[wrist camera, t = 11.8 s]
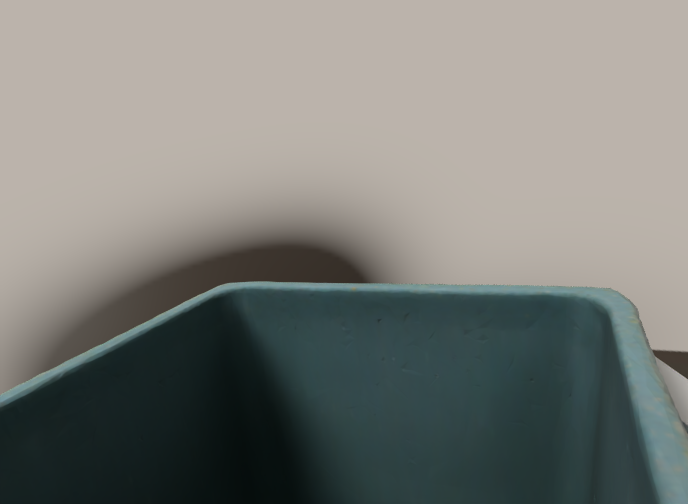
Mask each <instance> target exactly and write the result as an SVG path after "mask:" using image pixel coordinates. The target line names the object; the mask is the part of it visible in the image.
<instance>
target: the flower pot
mask: <svg viewBox="0 0 688 504" xmlns="http://www.w3.org/2000/svg"><path fill="white" fill-rule="evenodd" d="M0 504H688V433H687V431H686V429H685V427H684V425H683V423H682V421H681V418H680V416H679V413H678V410H677V409H676V408H675V405H674V401H673V399H672V397H671V396H670V393H669V390H668V387H667V385H666V383H665V382H664V378H663V376H662V374H661V373H660V370H659V367H658V366H657V363H656V359H655V356H654V354H653V352H652V350H651V348H650V345H649V342H648V339H647V337H646V334H645V331H644V328H643V326H642V322H641V320H640V319H639V312H638V309H637V308H636V306H635V305H634V304H633V303H632V302H631V301H630V300H629V299H627V298H626V297H625V296H623V295H622V294H621V293H619V292H618V291H615V290H612V289H610V288H595V287H563V286H528V285H523V286H522V285H445V284H444V285H443V284H421V285H420V284H393V283H392V284H351V283H348V284H347V283H296V282H295V283H294V282H293V283H292V282H281V283H280V282H241V283H228V284H224V285H221V286H217V287H215V288H214V289H211V290H209V291H207V292H205V293H203V294H200V295H198V296H196V297H194V298H192V299H190V300H188V301H186V302H184V303H182V304H181V305H179V306H177V307H175V308H173V309H171V310H169V311H166V312H165V313H163V314H160V315H158V316H157V317H155V318H153V319H151V320H150V321H147V322H145V323H143V324H141V325H139V326H137V327H135V328H133V329H131V330H129V331H127V332H125V333H123V334H121V335H118V336H116V337H115V338H113V339H111V340H109V341H108V342H106V343H104V344H101V345H99V346H96V347H94V348H93V349H91V350H89V351H87V352H85V353H83V354H81V355H79V356H76V357H74V358H72V359H70V360H68V361H66V362H65V363H63V364H61V365H59V366H57V367H55V368H53V369H51V370H49V371H47V372H44V373H41V374H39V375H38V376H36V377H34V378H32V379H31V380H29V381H27V382H24V383H22V384H20V385H18V386H16V387H14V388H12V389H11V390H9V391H7V392H5V393H3V394H1V395H0Z"/></svg>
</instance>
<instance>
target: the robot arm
mask: <svg viewBox="0 0 688 504" xmlns="http://www.w3.org/2000/svg"><path fill="white" fill-rule="evenodd" d="M655 359H656V363H657V366H658V367H659V370H660V373H661V374H662V376H663V378H664V382H665V383H666V385H667V387H668V390H669V393H670V396H671V397H672V399H673V401H674V405H675V408H676V409H677V410H678V413H679V416H680V418H681V421H682V423H683V425H684V427H685V429H686V431H687V433H688V379H686V378H685V377H683V376H682V375H680V374H679V373H678V372H676V371H675V370H673V369H672V368H670V367H669V366H668V365H666V364H665V363H663V362H662V361H660V360H659V359H658V358H656V357H655Z"/></svg>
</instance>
